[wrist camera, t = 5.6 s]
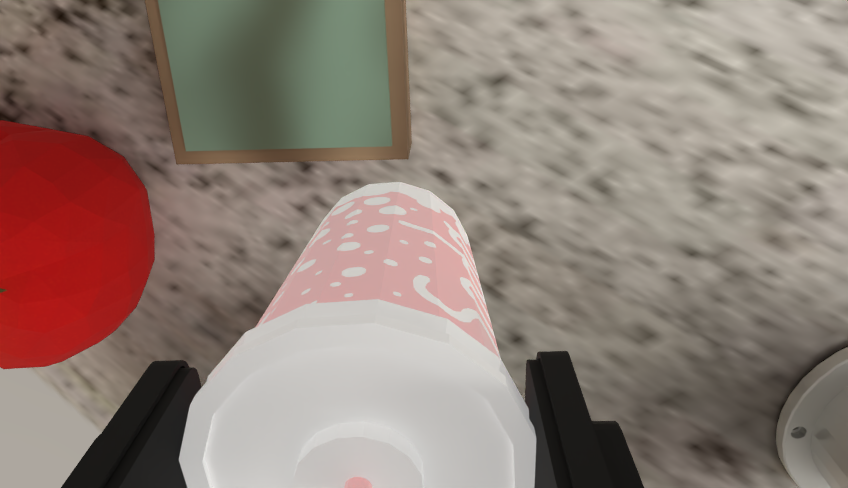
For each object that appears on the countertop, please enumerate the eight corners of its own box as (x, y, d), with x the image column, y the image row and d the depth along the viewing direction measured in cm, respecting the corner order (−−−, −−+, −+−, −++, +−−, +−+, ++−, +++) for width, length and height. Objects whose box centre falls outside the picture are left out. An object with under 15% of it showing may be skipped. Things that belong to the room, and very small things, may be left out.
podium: (401, -102, 28) (395, -111, 25) (411, 143, 32) (407, 160, 29) (156, -92, 29) (122, -99, 26) (199, 148, 33) (173, 166, 30)
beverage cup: (515, 316, 20) (661, 967, 7) (330, 360, 21) (157, 1018, 8) (466, 129, 17) (550, 595, 5) (258, 187, 18) (-160, 721, 5)
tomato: (232, 217, 34) (140, 322, 24) (102, 333, 38) (-27, 469, 27) (51, 42, 31) (-144, 78, 21) (-73, 187, 34) (-295, 279, 24)
